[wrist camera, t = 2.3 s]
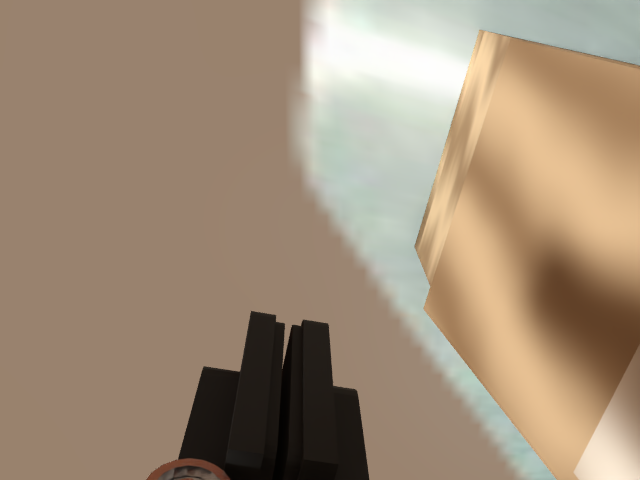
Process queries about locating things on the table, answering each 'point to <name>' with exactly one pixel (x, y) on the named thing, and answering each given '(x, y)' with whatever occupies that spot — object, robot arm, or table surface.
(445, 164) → the box
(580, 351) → the lid
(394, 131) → the table surface
